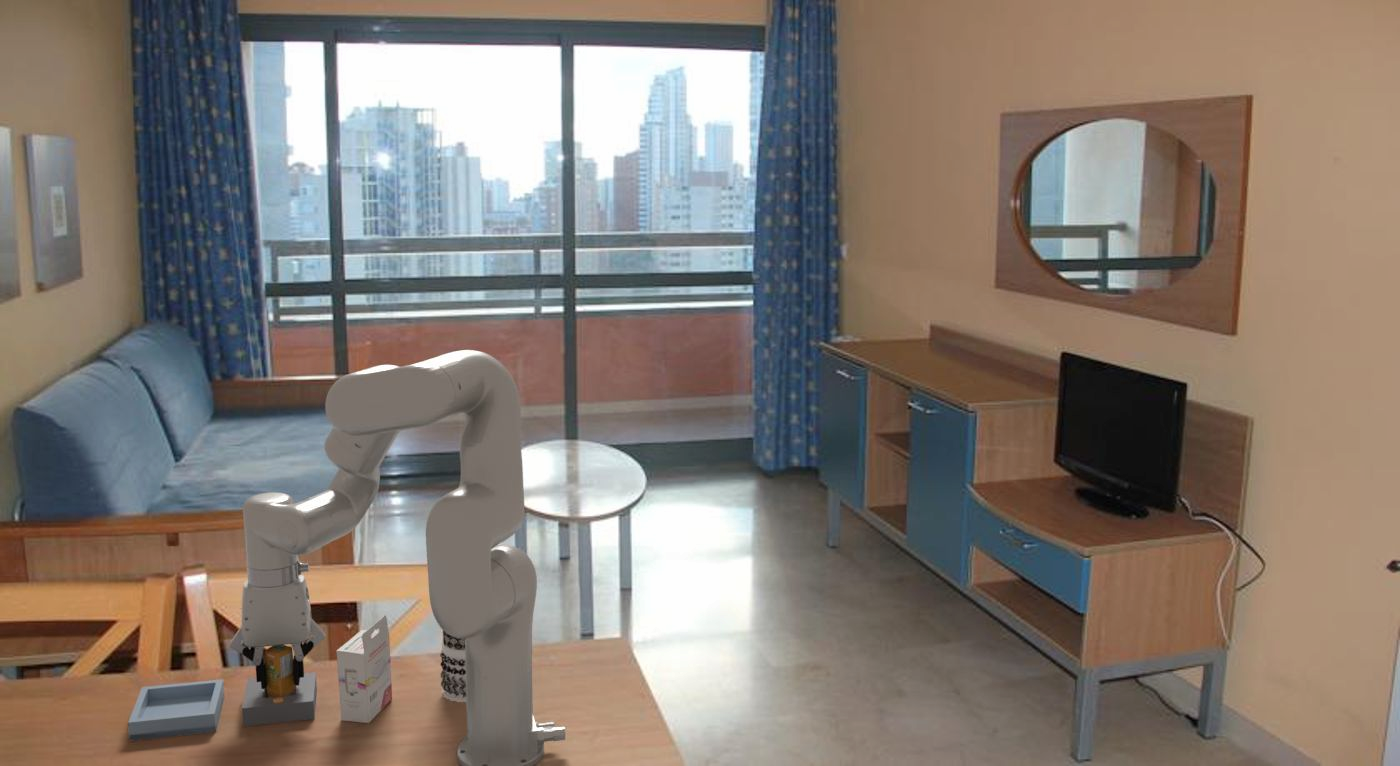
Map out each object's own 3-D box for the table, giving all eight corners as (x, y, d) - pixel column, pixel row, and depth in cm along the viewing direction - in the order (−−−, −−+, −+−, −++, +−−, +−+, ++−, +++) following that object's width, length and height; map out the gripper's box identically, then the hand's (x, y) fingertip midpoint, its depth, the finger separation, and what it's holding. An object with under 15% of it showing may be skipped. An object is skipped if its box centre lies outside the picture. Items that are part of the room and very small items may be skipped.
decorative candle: (448, 676, 203) (444, 534, 198) (502, 680, 202) (499, 537, 197) (431, 702, 194) (426, 553, 189) (488, 705, 193) (484, 556, 188)
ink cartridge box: (364, 696, 196) (360, 610, 193) (393, 699, 195) (389, 613, 192) (338, 721, 187) (334, 632, 184) (368, 724, 186) (364, 635, 183)
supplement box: (266, 708, 190) (262, 649, 188) (282, 700, 193) (279, 641, 191) (281, 713, 189) (277, 653, 187) (298, 704, 192) (294, 645, 190)
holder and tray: (317, 687, 198) (316, 669, 198) (314, 721, 187) (313, 702, 186) (143, 704, 192) (141, 685, 191) (129, 741, 180) (127, 721, 180)
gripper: (331, 560, 192) (337, 667, 196) (218, 569, 188) (226, 679, 192) (329, 576, 185) (336, 687, 189) (212, 586, 181) (221, 700, 185)
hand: (280, 682), depth 190 cm, fingers closed on supplement box, 4 cm apart
